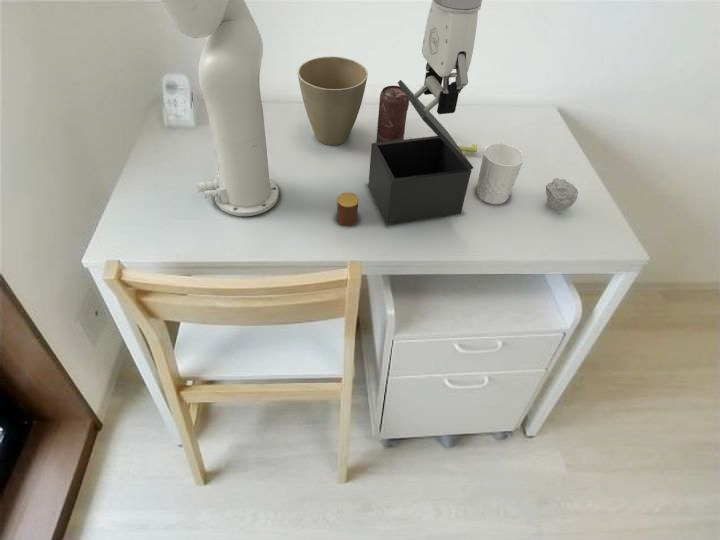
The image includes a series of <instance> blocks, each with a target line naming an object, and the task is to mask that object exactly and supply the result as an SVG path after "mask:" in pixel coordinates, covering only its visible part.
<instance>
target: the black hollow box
mask: <svg viewBox="0 0 720 540" xmlns="http://www.w3.org/2000/svg"><path fill="white" fill-rule="evenodd" d="M370 147H371V148H370V157H369V158H370V160H369V173H368V184H367V185H368V188H369V190H370V192H371V194H372V196H373V199H374V201H375V203H376V205H377V207H378V209H379V211H380V213H381V215H382V217H383V220H384V222H385V224H386V225H387V226H389V225H396V224H403V223H409V222H416V221H420V220H421V221H423V220H428V219H435V218H440V217H447V216H448V217H449V216H454V215H455V216H456V215H461V214H462V211H463V207H464V203H465V198H466V194H467V190H468V186H469V183H470V178H471V175H472V170H469V169H468V168H467V166H466V165H465V164H464V163H463V162H462V161H461V160H460V159H459V158H458V157H457V156H456V155H455V154H454V153H453V152H452V150H451V149H450V148H449V147H448V146H447V145H446V144H445V143H444V142H443V141H442V140H441V139H440V138H439V137H438V136H437V135H432V136H425V137H424V136H423V137H416V138H415V137H414V138H406V139H403V140H397V141H388V142H379V143H376V142H372V143H371V146H370Z"/></svg>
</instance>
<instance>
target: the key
mask: <svg viewBox="0 0 720 540" xmlns="http://www.w3.org/2000/svg"><path fill="white" fill-rule="evenodd" d="M471 144H472V145H471V146H464V145H458V147H459V148H460V149H461V151H462V152H463V153H477V154H478V148H479V147H478V144H475V143H471Z"/></svg>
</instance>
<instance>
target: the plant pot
mask: <svg viewBox="0 0 720 540" xmlns="http://www.w3.org/2000/svg"><path fill="white" fill-rule="evenodd" d="M368 75H369V72H368V70H367V68H366V67H365V66H364V65H363V64H362V63H360V62H358V61H356V60H354V59H351V58H348V57H347V58H346V57H343V56H331V55H330V56H329V55H328V56H320V57H319V56H318V57H315V58H311V59H309V60H306V61H305V62H303V63H301V64H300V66H299V67H298V68H297V77H298V84H299V88H300V94H301V97H302V101H303V105H304V109H305V111H306V114H307V118H308V120H309V123H310V126H311V129H312V130H313V133H314V135H315V137H316V139H317V141H318V142H319V143H321V144H323V145H327V146H339V145H342V144H344V143H345V142H347V141H348V139H349V137H350V135H351V133H352V131H353V128H354V126H355V123H356V121H357V118H358V115H359V113H360V109H361V106H362V103H363V99H364V96H365V95H364V94H365V91H366V85H367V80H368Z"/></svg>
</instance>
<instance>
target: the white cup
mask: <svg viewBox="0 0 720 540" xmlns="http://www.w3.org/2000/svg"><path fill="white" fill-rule="evenodd" d="M524 161H525V155H524V153H523V152H522V151H521V150H520V149H519V148H518V147H516V146H514V145H511V144H507V143H500V142H499V143H497V142H496V143H491V144H489V145H487V146H486V147H485V148H484V149H483V154H482V159H481V163H480V168H479V174H478V178H477V185H476V195H477V196H478V198H479V199H480V200H481V201H483V202H485V203H487V204H490V205H500V204H503V203H506V201H508V199H509V198H510V195H511V192H512V190H513V188H514V186H515V183H516V181H517V179H518V176H519V173H520V171H521V168H522V165H523V164H524Z"/></svg>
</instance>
